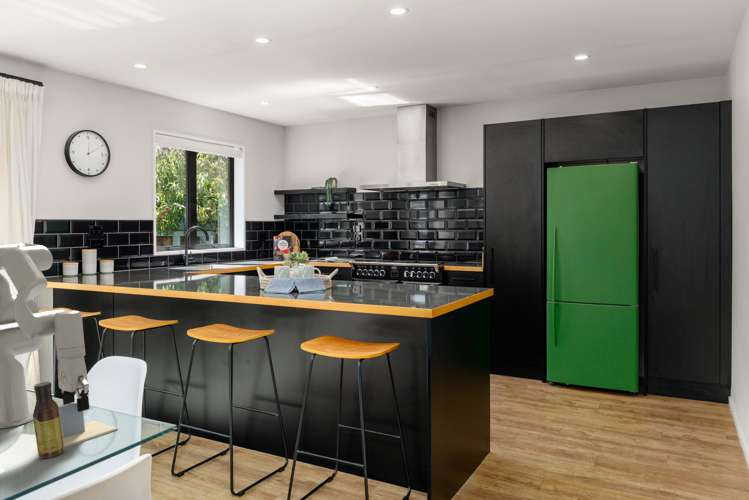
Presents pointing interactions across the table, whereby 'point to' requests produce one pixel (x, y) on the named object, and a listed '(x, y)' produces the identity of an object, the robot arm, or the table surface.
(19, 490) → the table surface
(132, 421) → the table surface
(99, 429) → the mat
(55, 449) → the sauce bottle
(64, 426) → the tile
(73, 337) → the robot arm
